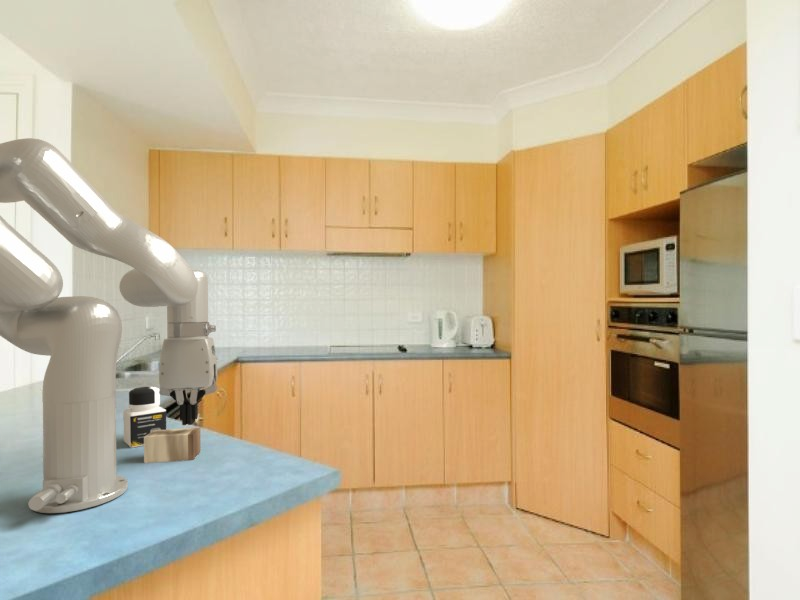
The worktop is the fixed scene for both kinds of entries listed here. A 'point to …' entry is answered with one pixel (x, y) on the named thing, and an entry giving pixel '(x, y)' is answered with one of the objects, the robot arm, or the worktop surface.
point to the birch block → (172, 445)
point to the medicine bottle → (143, 415)
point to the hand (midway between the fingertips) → (188, 423)
